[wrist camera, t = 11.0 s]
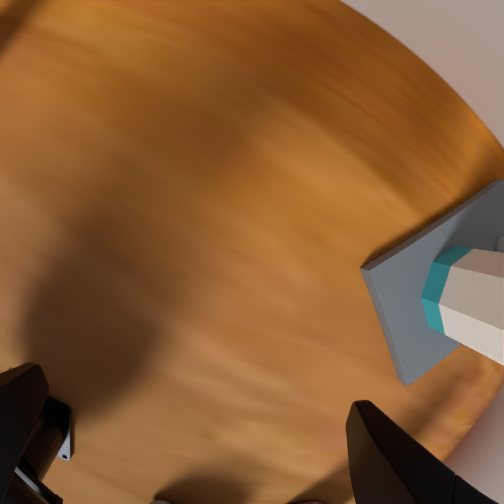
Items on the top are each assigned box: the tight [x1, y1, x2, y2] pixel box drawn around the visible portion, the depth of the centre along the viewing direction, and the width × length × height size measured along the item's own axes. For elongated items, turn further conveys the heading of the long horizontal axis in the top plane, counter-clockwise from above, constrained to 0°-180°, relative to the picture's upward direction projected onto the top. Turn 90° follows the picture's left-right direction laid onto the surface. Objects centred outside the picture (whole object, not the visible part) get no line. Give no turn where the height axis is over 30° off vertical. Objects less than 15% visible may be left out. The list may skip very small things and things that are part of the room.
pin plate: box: [360, 179, 504, 387], centre depth 18 cm, size 16×10×4 cm, turn 116°
